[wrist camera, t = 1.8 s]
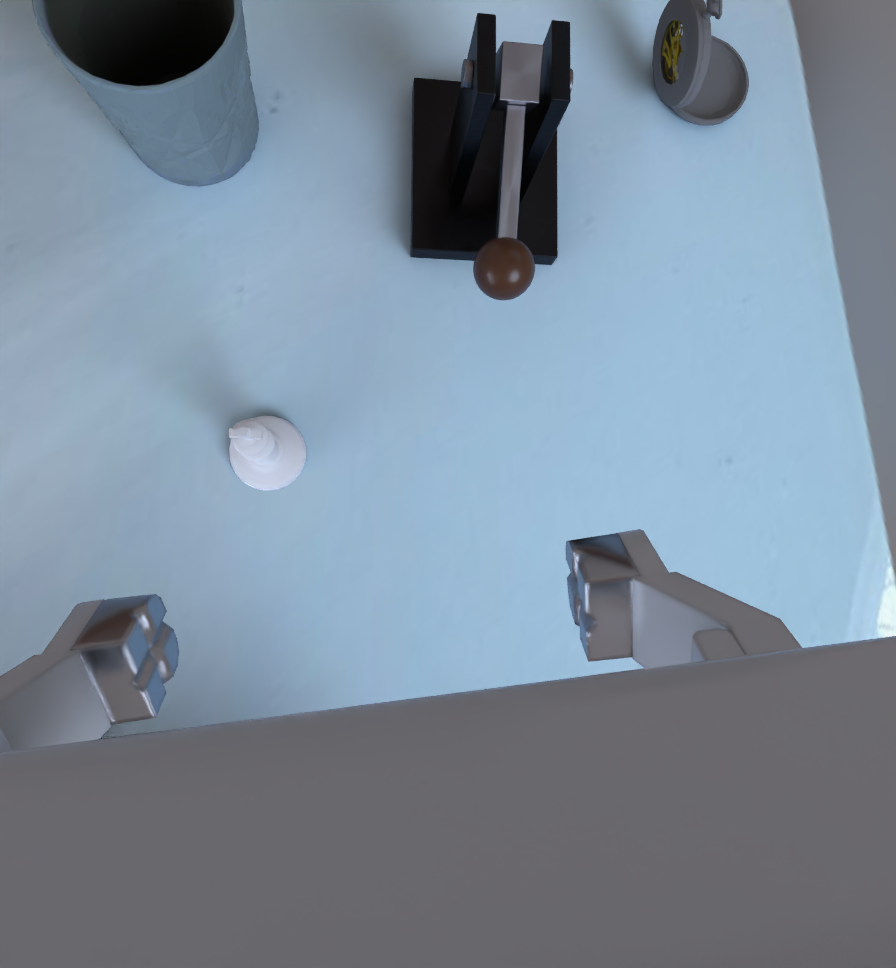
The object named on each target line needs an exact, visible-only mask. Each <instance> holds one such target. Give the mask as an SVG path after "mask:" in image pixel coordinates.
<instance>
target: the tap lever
mask: <svg viewBox="0 0 896 968" xmlns="http://www.w3.org/2000/svg"><path fill="white" fill-rule="evenodd" d="M542 58H543V45H538V44H527V43H516V42H506V41H503V42H502V44H501V46H500V48H499V49H498V51H497V53H496V95H495V98H494V101H493V105H492V110H498V111H503V127H502V143H501V159H500V174H499V190H498V206H497V222H496V238H494V239H491V240H490V241H488V242H487V243H485V244H484V245H483V246H482V247H481V248H480V250H479V251H478V253H477V255H476V257H475V261H474V266H473V272H474V277H475V281H476V283H477V285H478V287H479V288H480V289H481V290H482V292H483V293H485V294H486V295H487V296H489V297H491V298H493V299H497V300H510V299H514V298H516V297H518V296H520V295H521V294H522V293H524V292H525V291H526V290H527V288H528V287H529V286H530V284H531V282H532V280H533V277H534V272H535V263H534V258H533V256H532V253H531V251H530V250H529V248H528V247H527V246H526V245H525V244H524V243H523V242H521V241H520V240H518V239H517V228H518V214H519V199H520V185H521V171H522V157H523V143H524V129H525V115H526V113H530V112H531V111H532V110H533V109H534V108H535V106H536V105H537V104H538V103H539V98H540V84H541V71H542Z"/></svg>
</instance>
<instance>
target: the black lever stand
mask: <svg viewBox="0 0 896 968" xmlns="http://www.w3.org/2000/svg"><path fill="white" fill-rule="evenodd" d="M572 84H573V70H572V69H570V22H565V21H555V20H552V22H551V25H550V27H549V30H548V33H547V35H546V38H545V41H544V43H543V58H542V71H541V84H540V98H539V103H538V104H537V105H536V106H535V108H534V109H533V110H532V111H531V112H530V113H526V115H525V129H524V143H523V157H522V171H521V185H520V199H519V214H518V228H517V239H518V240H520V241H521V242H523V243H524V244H525V245H526V246H527V247H528V248H529V250H530V251H531V253H532V256H533V258H534V263H535V264H545V265H552V264H553V262H554V261H555V259H556V258H557V127H558V125H559V123H560V121H561V119H562V117H563V115H564V113H565V111H566V109H567V107H568V104H569V102H570V93H571V89H572ZM495 95H496V15H493V14H483V13H478V14H477V17H476V22H475V26H474V31H473V35H472V39H471V44H470V48H469V53H468V57H467V59H464V60H463V64H462V72H461V82H458V81H447V80H435V79H423V78H414V82H413V90H412V173H411V257H416V258H435V259H453V260H471V261H475V257H476V255H477V253H478V251H479V250H480V248H481V247H482V246H483V245H484V244H485V243H487V242H488V241H490V240H491V239H494V238H496V222H497V206H498V190H499V174H500V159H501V143H502V127H503V111H498V110H492V105H493V101H494V98H495Z"/></svg>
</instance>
